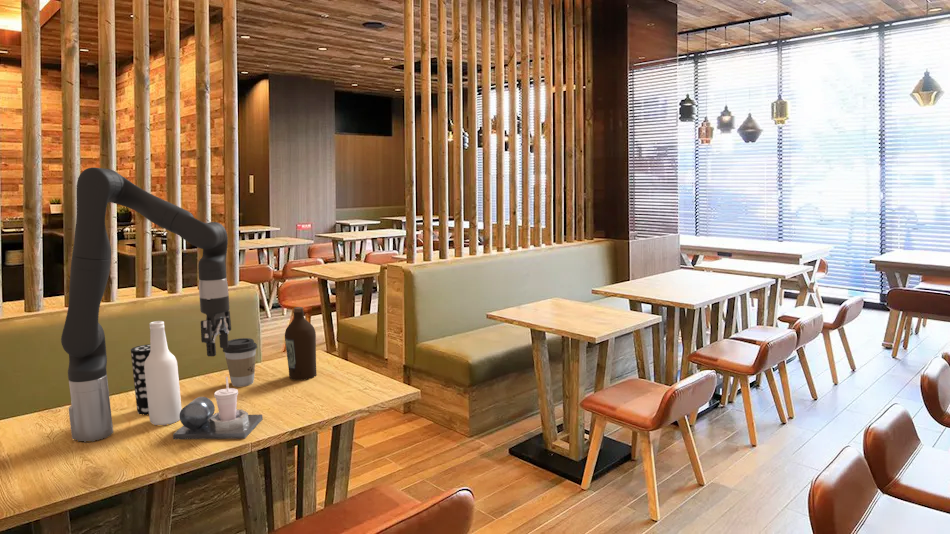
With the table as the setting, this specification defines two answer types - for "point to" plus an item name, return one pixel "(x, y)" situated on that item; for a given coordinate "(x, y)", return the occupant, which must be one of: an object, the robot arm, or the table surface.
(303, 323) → the olive oil
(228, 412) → the smoothie
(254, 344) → the coffee cup
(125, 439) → the table surface
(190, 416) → the flat grey tray
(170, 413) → the alcohol
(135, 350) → the white-spotted black cylinder
